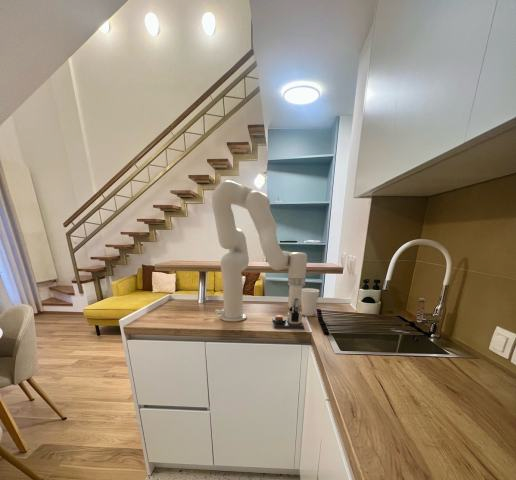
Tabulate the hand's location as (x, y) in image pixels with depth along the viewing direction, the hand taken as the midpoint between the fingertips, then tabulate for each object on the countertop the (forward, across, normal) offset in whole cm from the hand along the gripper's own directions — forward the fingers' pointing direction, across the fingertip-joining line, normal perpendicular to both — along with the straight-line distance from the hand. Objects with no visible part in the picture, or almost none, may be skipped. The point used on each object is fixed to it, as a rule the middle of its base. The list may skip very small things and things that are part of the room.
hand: (293, 318), depth 131 cm
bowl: (+2, 0, 0) cm, 2 cm away
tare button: (+1, 0, -7) cm, 7 cm away
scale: (+3, 0, -2) cm, 4 cm away
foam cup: (+4, -19, +10) cm, 22 cm away
